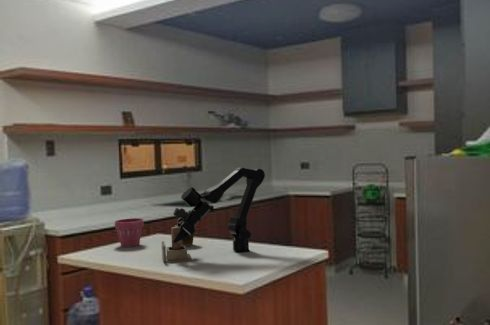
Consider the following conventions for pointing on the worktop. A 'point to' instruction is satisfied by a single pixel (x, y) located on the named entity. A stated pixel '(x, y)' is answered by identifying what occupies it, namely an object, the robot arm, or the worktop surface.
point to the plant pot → (129, 231)
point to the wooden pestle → (173, 234)
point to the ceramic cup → (187, 240)
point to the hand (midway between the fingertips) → (173, 240)
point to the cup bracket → (174, 254)
